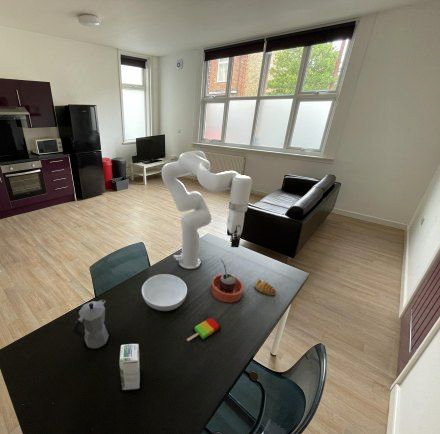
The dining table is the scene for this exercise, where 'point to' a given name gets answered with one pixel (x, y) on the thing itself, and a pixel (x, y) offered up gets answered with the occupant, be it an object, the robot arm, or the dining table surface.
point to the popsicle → (205, 329)
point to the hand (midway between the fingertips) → (232, 240)
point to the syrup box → (130, 366)
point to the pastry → (264, 287)
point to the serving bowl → (164, 292)
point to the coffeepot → (92, 324)
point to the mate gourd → (227, 281)
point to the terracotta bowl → (229, 295)
